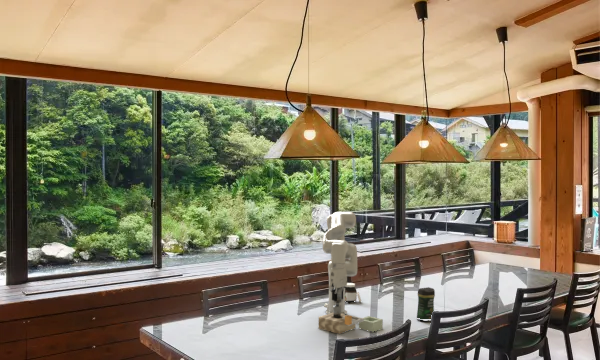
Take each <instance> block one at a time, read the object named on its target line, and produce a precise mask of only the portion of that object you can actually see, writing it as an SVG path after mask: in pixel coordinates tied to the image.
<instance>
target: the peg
mask: <svg viewBox="0 0 600 360" xmlns="http://www.w3.org/2000/svg"><path fill="white" fill-rule="evenodd" d="M334 290H335V288H334ZM333 302H335V305H334V307H333V317H334V318H340V317H341V305H339V303H340V302H342V287H341V288H337V301H333Z"/></svg>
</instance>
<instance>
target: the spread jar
mask: <svg viewBox="0 0 600 360" xmlns="http://www.w3.org/2000/svg"><path fill="white" fill-rule="evenodd" d="M357 299H358V302H359V303H362V302H361V301H362V299H361V295H360V293H359V291H358V290H357V288H356V283H353V282H347V285H346V286H345V301H346V302H354V301H355V302H357ZM346 302H345V303H346ZM355 302H354V303H355Z"/></svg>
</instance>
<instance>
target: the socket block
mask: <svg viewBox="0 0 600 360" xmlns="http://www.w3.org/2000/svg"><path fill="white" fill-rule="evenodd" d="M347 315H348V314H346V315H345V314H341V317H340V318H334V317H333V313H330V314H327V313H326V314H324V315H320V316H318V329H320V330H323V331H327V332H330V331H331V332H332V333H334V334H337V333H338V335H341V334H344V333H346V332H345V331H347V332H349V331H348V330H350V331H352V330H355V329H356V324H354V325H351V326H347V325H346V324H345V320H342V317H345V316H347ZM354 328H355V329H354ZM351 329H352V330H351ZM331 332H330V333H331ZM343 332H344V333H343Z"/></svg>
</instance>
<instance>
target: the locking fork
mask: <svg viewBox="0 0 600 360" xmlns="http://www.w3.org/2000/svg"><path fill="white" fill-rule="evenodd" d="M346 315H347V316H345V317H342V320H345V324H346V325H347V326H351V325H354V324H359V323H360V322H363V321H364V317H358V316H354V315H350V314H346Z"/></svg>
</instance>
